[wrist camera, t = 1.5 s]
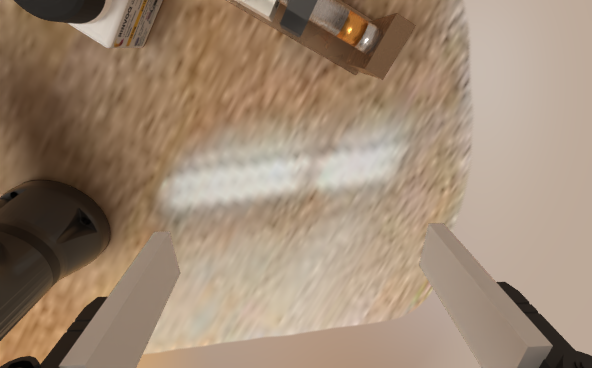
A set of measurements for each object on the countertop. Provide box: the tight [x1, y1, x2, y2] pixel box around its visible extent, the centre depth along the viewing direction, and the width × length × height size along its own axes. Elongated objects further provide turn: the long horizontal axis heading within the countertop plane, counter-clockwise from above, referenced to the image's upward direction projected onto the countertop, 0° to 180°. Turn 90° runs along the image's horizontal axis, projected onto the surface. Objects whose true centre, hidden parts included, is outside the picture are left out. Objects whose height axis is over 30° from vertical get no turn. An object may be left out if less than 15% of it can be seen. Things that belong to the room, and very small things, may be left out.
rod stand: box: [226, 0, 416, 80], centre depth 28 cm, size 20×6×11 cm, turn 63°
